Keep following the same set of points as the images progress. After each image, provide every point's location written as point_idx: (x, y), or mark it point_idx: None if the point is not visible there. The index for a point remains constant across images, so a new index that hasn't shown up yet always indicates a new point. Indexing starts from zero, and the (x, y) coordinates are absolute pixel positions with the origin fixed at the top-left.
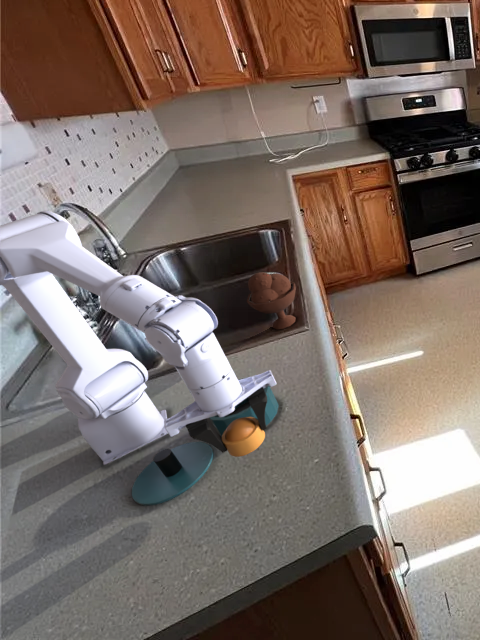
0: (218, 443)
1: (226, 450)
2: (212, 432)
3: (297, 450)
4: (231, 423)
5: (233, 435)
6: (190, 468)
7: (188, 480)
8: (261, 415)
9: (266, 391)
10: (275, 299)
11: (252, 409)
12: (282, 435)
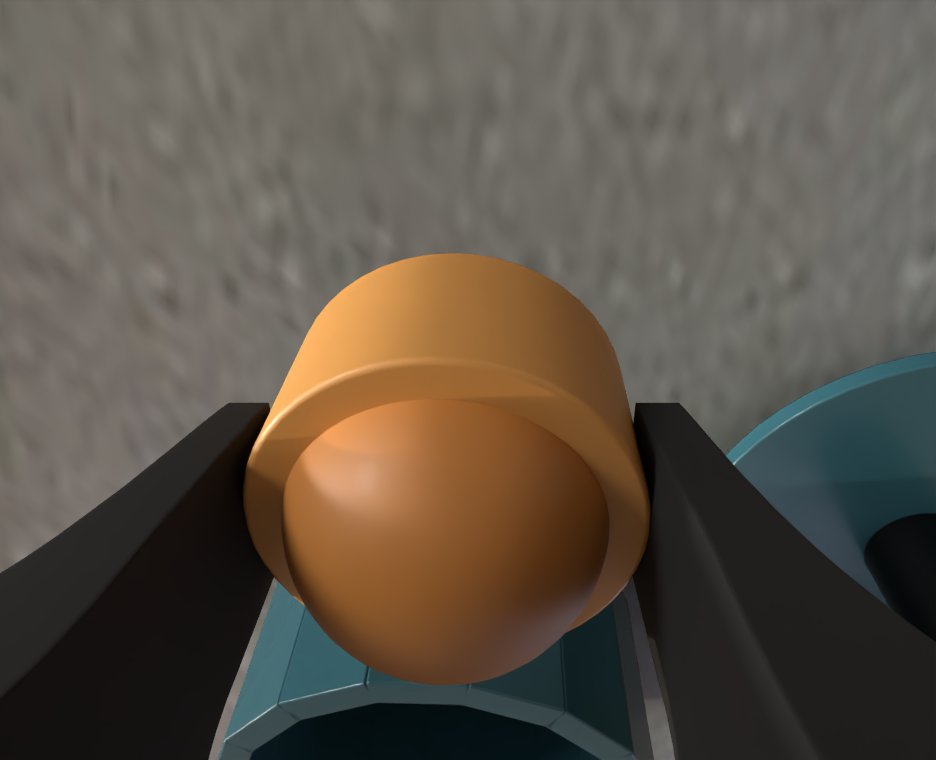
0: (711, 499)
1: (641, 404)
2: (807, 737)
3: (179, 145)
4: (489, 670)
5: (516, 498)
6: (839, 496)
7: (891, 415)
8: (71, 555)
9: (226, 750)
10: None
11: (350, 671)
12: (281, 369)
